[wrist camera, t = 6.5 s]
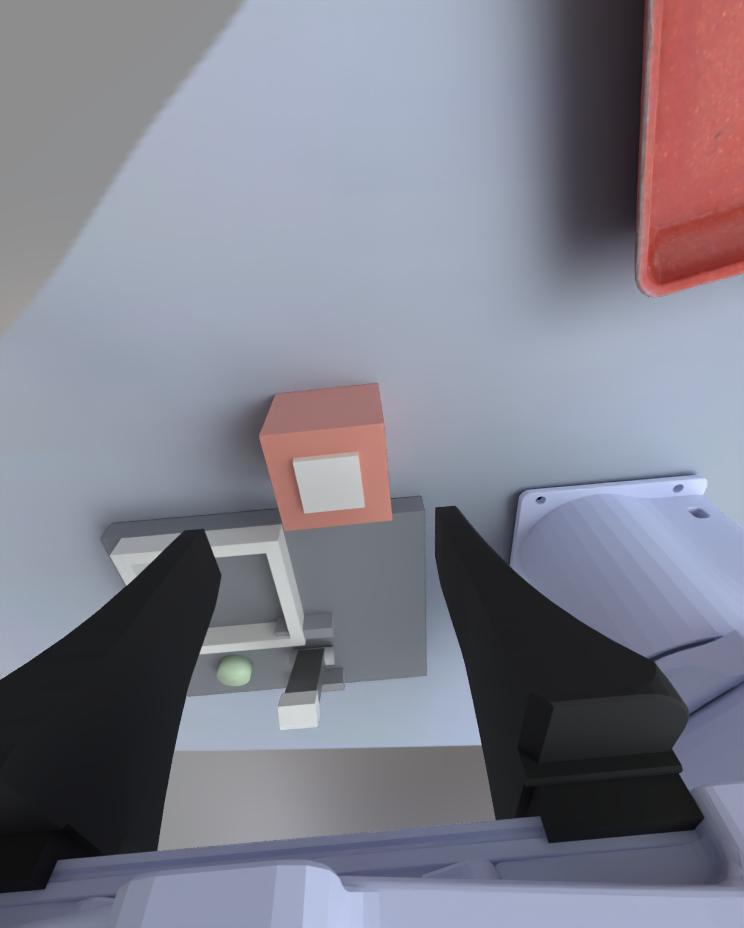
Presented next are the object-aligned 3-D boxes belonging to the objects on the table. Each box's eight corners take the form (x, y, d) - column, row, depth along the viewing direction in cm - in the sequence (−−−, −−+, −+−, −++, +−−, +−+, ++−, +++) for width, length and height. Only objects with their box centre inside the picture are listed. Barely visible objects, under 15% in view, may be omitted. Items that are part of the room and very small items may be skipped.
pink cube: (377, 382, 18) (384, 426, 15) (385, 468, 21) (393, 525, 17) (275, 393, 18) (257, 440, 15) (295, 477, 21) (283, 536, 17)
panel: (421, 496, 21) (428, 526, 19) (423, 659, 29) (429, 693, 27) (111, 523, 22) (86, 556, 19) (193, 679, 29) (181, 715, 27)
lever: (333, 641, 26) (323, 702, 20) (335, 660, 26) (325, 726, 20) (291, 645, 26) (269, 707, 20) (293, 663, 26) (272, 730, 20)
